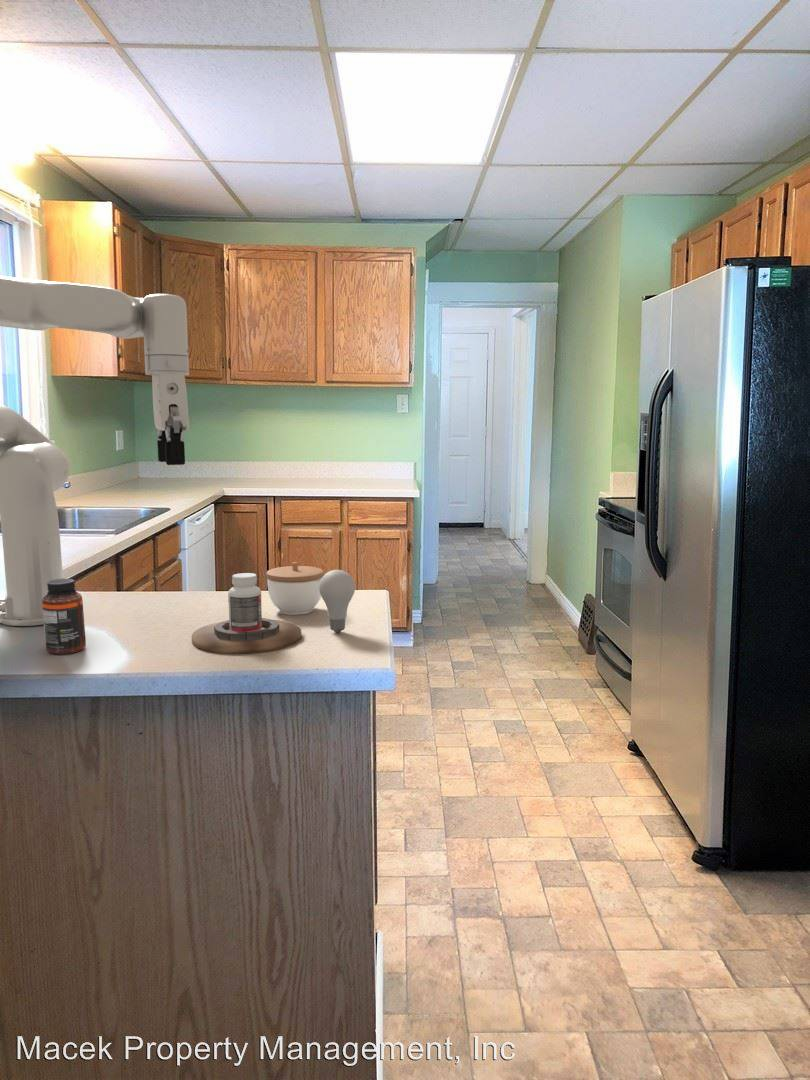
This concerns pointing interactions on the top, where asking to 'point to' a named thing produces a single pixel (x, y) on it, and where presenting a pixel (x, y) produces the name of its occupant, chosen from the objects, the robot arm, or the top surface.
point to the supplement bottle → (63, 618)
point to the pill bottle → (245, 604)
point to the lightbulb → (337, 596)
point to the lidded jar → (294, 588)
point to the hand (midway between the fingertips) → (171, 463)
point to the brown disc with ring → (246, 637)
